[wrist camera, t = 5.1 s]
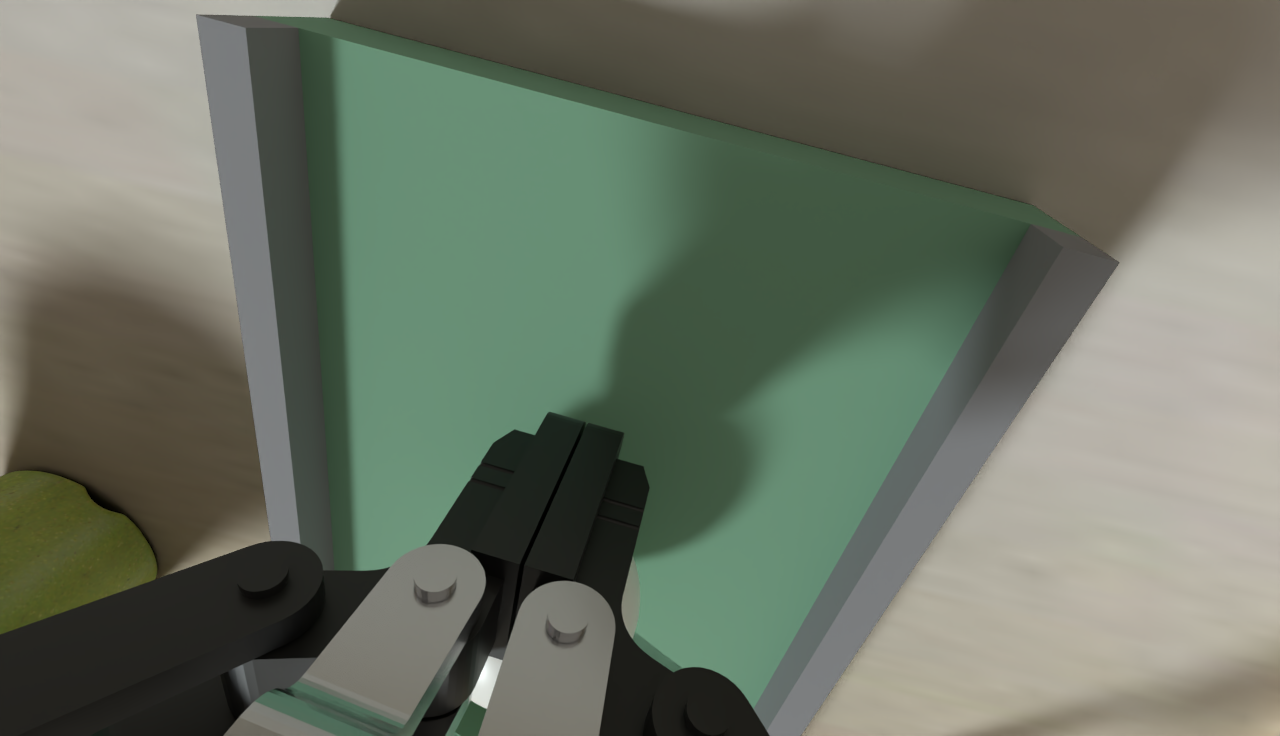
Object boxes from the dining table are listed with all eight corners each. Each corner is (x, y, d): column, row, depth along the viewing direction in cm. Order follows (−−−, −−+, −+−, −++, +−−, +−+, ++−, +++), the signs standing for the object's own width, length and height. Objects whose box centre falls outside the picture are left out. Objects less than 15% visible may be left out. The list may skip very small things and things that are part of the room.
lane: (327, 17, 12) (196, 14, 9) (1033, 205, 11) (1119, 262, 9) (357, 695, 24) (304, 781, 21) (695, 802, 24) (686, 905, 21)
